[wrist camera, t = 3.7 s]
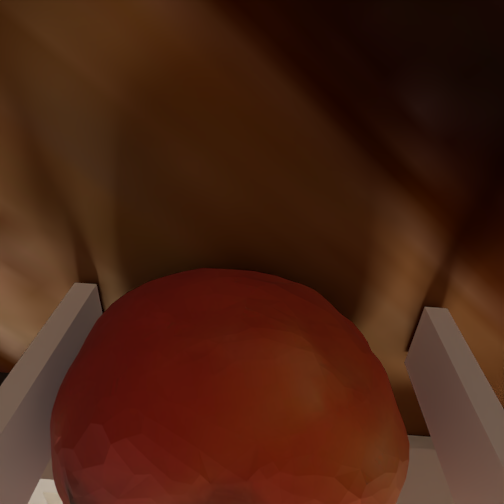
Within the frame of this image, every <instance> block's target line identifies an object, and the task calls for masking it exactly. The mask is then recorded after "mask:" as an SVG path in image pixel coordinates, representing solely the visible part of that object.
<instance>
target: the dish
mask: <svg viewBox="0 0 504 504" xmlns="http://www.w3.org/2000/svg"><path fill="white" fill-rule="evenodd" d="M407 436H408V439H409V443H410V445H409V466H408V471H407V476H406V480H405V482H404V485H403V488H402V490H401V493H400V495H399V497H398V500H397V502H396V504H455V503H454V501H453V498H452V495H451V492H450V489H449V487H448V484H447V481H446V478H445V475H444V473H443V470H442V467H441V464H440V461H439V459H438V456H437V453H436V450H435V447H434V445H433V442H432V439H431V437H427V436H413V435H407ZM28 504H63V502H62V500H61V498H60V497H59V495H58V492H57V489H56V486H55V483H54V479H53V472H52V459H51V458H50V460H49V462H48V464H47V466H46V468H45V470H44V472H43V474H42V476H41V478H40V480H39V482H38V484H37V486H36V488H35V490H34V492H33V494H32V496H31V498H30V500H29V502H28Z"/></svg>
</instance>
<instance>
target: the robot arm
mask: <svg viewBox="0 0 504 504" xmlns="http://www.w3.org/2000/svg"><path fill="white" fill-rule="evenodd" d="M102 314H103V313H102V308H101V303H100V299H99V294H98V289H97V284H88V283H74V284H73V286H72V287H71V289H70V290H69V291H68V293H67V294H66V296H65V297H64V298H63V300H62V301H61V302H60V304H59V305H58V307H57V308H56V309H55V311H54V312H53V314H52V315H51V316H50V318H49V319H48V321H47V322H46V323H45V325H44V326H43V327H42V329H41V330H40V332H39V333H38V334H37V336H36V337H35V339H34V340H33V341H32V343H31V344H30V346H29V347H28V348H27V350H26V351H25V352H24V354H23V355H22V357H21V358H20V359H19V361H18V362H17V364H16V365H15V366H14V368H13V369H12V370H11V372H10V373H2V372H0V504H28V502H29V500H30V498H31V496H32V494H33V492H34V490H35V488H36V486H37V484H38V482H39V480H40V478H41V476H42V474H43V472H44V470H45V468H46V466H47V464H48V462H49V460H50V458H51V440H50V421H51V413H52V409H53V405H54V402H55V399H56V396H57V393H58V390H59V388H60V386H61V384H62V381H63V379H64V377H65V375H66V373H67V371H68V369H69V368H70V366H71V364H72V363H73V361H74V360H75V358H76V356H77V355H78V353H79V351H80V349H81V347H82V345H83V344H84V342H85V340H86V338H87V336H88V334H89V332H90V331H91V329H92V327H93V326H94V324H95V323H96V321H97V320H98V318H99V317H100V316H101V315H102ZM404 363H405V366H406V369H407V372H408V374H409V377H410V380H411V383H412V386H413V388H414V391H415V394H416V397H417V400H418V402H419V405H420V408H421V411H422V414H423V416H424V419H425V422H426V425H427V428H428V430H429V433H430V436H431V439H432V442H433V445H434V447H435V450H436V453H437V456H438V459H439V461H440V464H441V467H442V470H443V473H444V475H445V478H446V481H447V484H448V487H449V489H450V492H451V495H452V498H453V501H454V503H455V504H504V408H503V407H502V405H501V404H500V402H499V400H498V398H497V396H496V395H495V393H494V391H493V389H492V388H491V386H490V384H489V382H488V380H487V379H486V377H485V375H484V373H483V371H482V370H481V368H480V366H479V364H478V363H477V361H476V359H475V357H474V355H473V354H472V352H471V350H470V348H469V346H468V345H467V343H466V341H465V339H464V338H463V336H462V334H461V332H460V330H459V329H458V327H457V325H456V323H455V321H454V320H453V318H452V316H451V314H450V313H449V311H448V309H447V308H435V307H424V310H423V313H422V315H421V318H420V321H419V324H418V326H417V329H416V332H415V335H414V337H413V340H412V343H411V346H410V348H409V351H408V354H407V357H406V359H405V362H404Z"/></svg>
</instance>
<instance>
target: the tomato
mask: <svg viewBox="0 0 504 504" xmlns="http://www.w3.org/2000/svg"><path fill="white" fill-rule="evenodd" d="M50 440H51V459H52V472H53V479H54V483H55V486H56V489H57V492H58V495H59V497H60V498H61V500H62V502H63V504H396V502H397V500H398V497H399V495H400V493H401V490H402V488H403V485H404V482H405V480H406V476H407V471H408V466H409V445H410V443H409V439H408V436H407V432H406V428H405V425H404V422H403V420H402V417H401V414H400V412H399V409H398V406H397V403H396V400H395V397H394V394H393V391H392V388H391V385H390V382H389V379H388V376H387V373H386V371H385V369H384V367H383V366H382V364H381V362H380V361H379V359H378V358H377V357H376V356H375V355H374V353H373V352H372V351H371V349H370V347H369V345H368V342H367V341H366V339H365V337H364V336H363V334H362V333H361V332H360V331H359V330H358V328H357V327H356V326H355V325H354V324H353V322H352V321H350V320H349V319H347V318H346V317H345V316H343V315H342V314H340V313H339V312H338V311H337V310H336V309H335V308H334V306H333V305H332V304H331V303H330V302H329V301H328V300H326V299H325V298H324V297H323V296H322V295H321V294H319V293H318V292H317V291H315V290H314V289H312V288H310V287H307V286H305V285H303V284H300V283H296V282H293V281H290V280H287V279H284V278H282V277H279V276H276V275H271V274H266V273H261V272H256V271H248V270H235V269H214V268H199V269H194V270H189V271H184V272H180V273H175V274H171V275H168V276H165V277H161V278H158V279H155V280H152V281H149V282H147V283H145V284H143V285H141V286H139V287H138V288H136V289H134V290H132V291H130V292H127V293H126V294H125V295H123V296H122V297H121V298H119V299H118V300H117V301H115V302H114V303H113V304H111V306H110V307H109V308H108V309H107V310H106V311H105V312H104V313H103V314H102V315H101V316H100V317H99V318H98V320H97V321H96V323H95V324H94V326H93V327H92V329H91V331H90V332H89V334H88V336H87V338H86V340H85V342H84V344H83V345H82V347H81V349H80V351H79V353H78V355H77V356H76V358H75V360H74V361H73V363H72V364H71V366H70V368H69V369H68V371H67V373H66V375H65V377H64V379H63V381H62V384H61V386H60V388H59V390H58V393H57V396H56V399H55V402H54V405H53V409H52V413H51V421H50Z"/></svg>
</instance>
